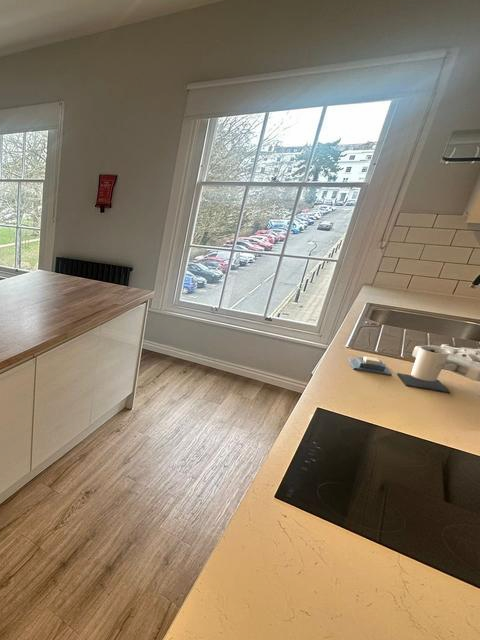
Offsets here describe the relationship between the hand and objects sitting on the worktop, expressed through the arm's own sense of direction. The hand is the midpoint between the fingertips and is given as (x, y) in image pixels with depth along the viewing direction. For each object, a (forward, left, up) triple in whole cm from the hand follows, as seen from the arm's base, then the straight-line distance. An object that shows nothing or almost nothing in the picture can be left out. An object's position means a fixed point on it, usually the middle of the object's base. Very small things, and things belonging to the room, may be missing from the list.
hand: (428, 363), depth 130 cm
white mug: (-1, -1, -6) cm, 6 cm away
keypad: (+11, -8, -8) cm, 16 cm away
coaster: (-1, -1, -8) cm, 8 cm away
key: (+11, -8, -6) cm, 15 cm away
